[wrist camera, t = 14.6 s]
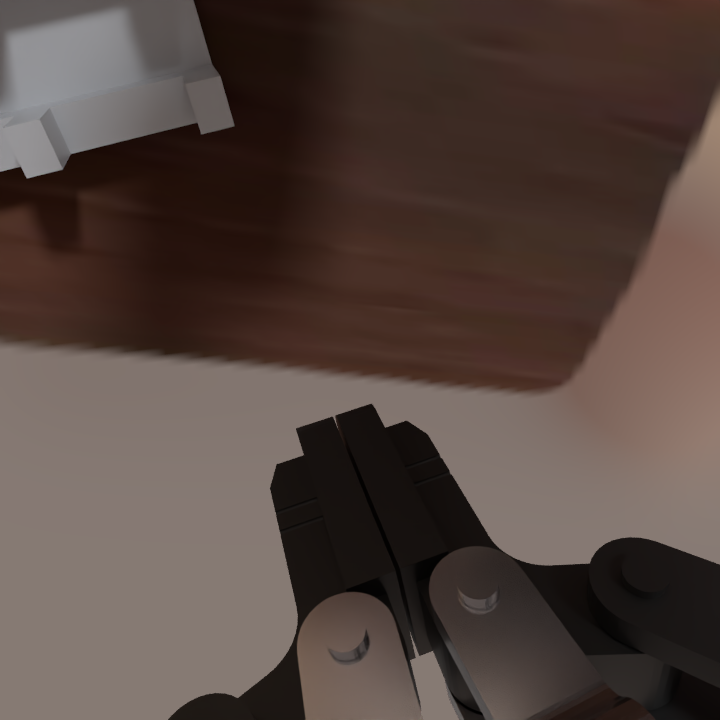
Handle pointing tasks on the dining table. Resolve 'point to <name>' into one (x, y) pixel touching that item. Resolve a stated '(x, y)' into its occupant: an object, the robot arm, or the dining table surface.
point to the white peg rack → (100, 77)
